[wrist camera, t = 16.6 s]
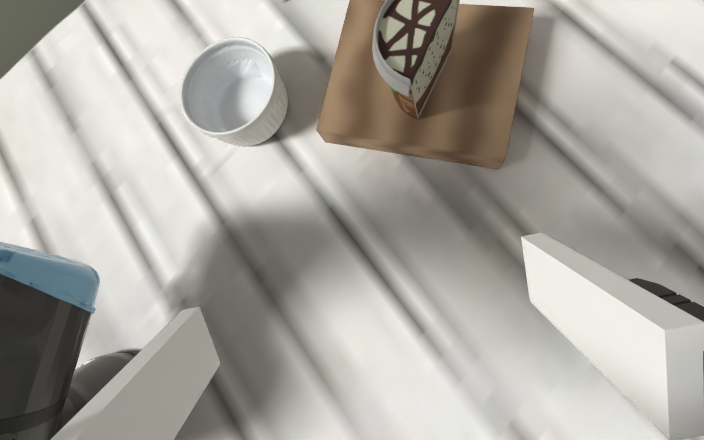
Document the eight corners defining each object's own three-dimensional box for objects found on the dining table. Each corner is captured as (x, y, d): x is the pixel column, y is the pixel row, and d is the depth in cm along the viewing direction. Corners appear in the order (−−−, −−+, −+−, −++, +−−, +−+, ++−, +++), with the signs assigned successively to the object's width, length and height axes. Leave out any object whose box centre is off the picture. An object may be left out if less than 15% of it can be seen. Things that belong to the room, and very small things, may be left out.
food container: (409, 24, 43) (404, -50, 34) (457, 38, 42) (466, -35, 32) (365, 113, 43) (346, 64, 33) (412, 131, 41) (407, 85, 31)
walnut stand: (325, 142, 47) (316, 129, 43) (356, 20, 49) (350, -2, 46) (498, 169, 42) (505, 158, 38) (525, 31, 44) (534, 7, 40)
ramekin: (203, 153, 51) (169, 133, 44) (218, 68, 53) (188, 38, 46) (289, 156, 48) (266, 136, 42) (301, 66, 50) (282, 33, 43)
